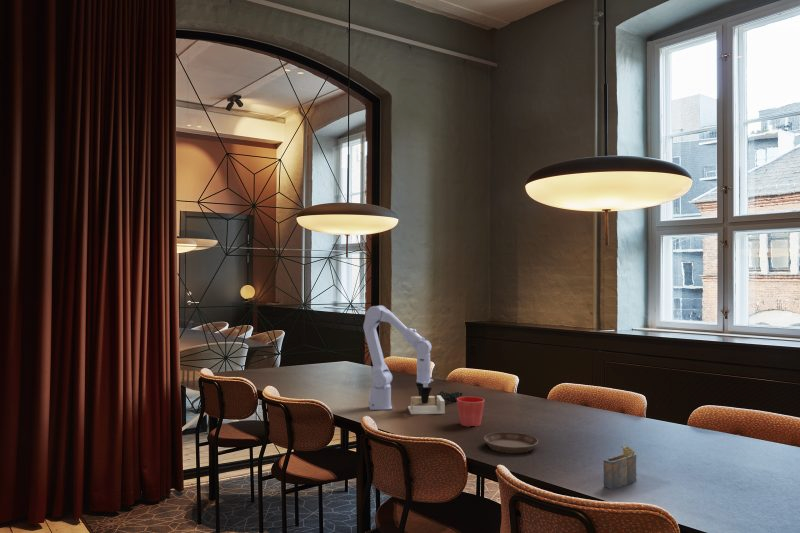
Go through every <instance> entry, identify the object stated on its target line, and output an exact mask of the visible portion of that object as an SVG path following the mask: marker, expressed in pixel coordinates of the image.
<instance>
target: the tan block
mask: <svg viewBox="0 0 800 533" xmlns="http://www.w3.org/2000/svg"><path fill="white" fill-rule="evenodd" d="M435 398H436V396H435V395H429V398H428V403H427V404H423V403H422V400H421V396H419V395H416V396H414V395H413V396H412V395H411V396H410V406H411V410H413V406H433V405H436V404H437V403H435Z"/></svg>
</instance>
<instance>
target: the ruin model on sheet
mask: <svg viewBox="0 0 800 533" xmlns="http://www.w3.org/2000/svg"><path fill="white" fill-rule="evenodd" d="M621 448H622V454H620V455H616V456H613V457H608V460H606V459H603V487H604V488H606V487H607V489H609V488H610V489H609V490H614V488H615V489H618V488H620V486H621V487H624V486H626V485H629V484H631V482H632V483H635V482H637V454H636V453H635V450H633V449H631V448H630V447H629V446H627V445H625V446H623V445H622V446H621ZM634 481H635V482H634ZM628 483H629V484H628ZM623 485H624V486H623ZM617 487H618V488H617Z"/></svg>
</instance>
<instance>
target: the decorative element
mask: <svg viewBox="0 0 800 533" xmlns="http://www.w3.org/2000/svg"><path fill="white" fill-rule="evenodd" d="M437 395H440V396H441V397H442V398H443V399H444V401H445V403H446V402H450V403H455V402H456V403H457V398H459V397H463V392H459V391H455V392H450V393H449V392H446V391H445V392H444V391H440V392H439V393H437V394H436V396H435V403H436V405H437Z"/></svg>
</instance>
